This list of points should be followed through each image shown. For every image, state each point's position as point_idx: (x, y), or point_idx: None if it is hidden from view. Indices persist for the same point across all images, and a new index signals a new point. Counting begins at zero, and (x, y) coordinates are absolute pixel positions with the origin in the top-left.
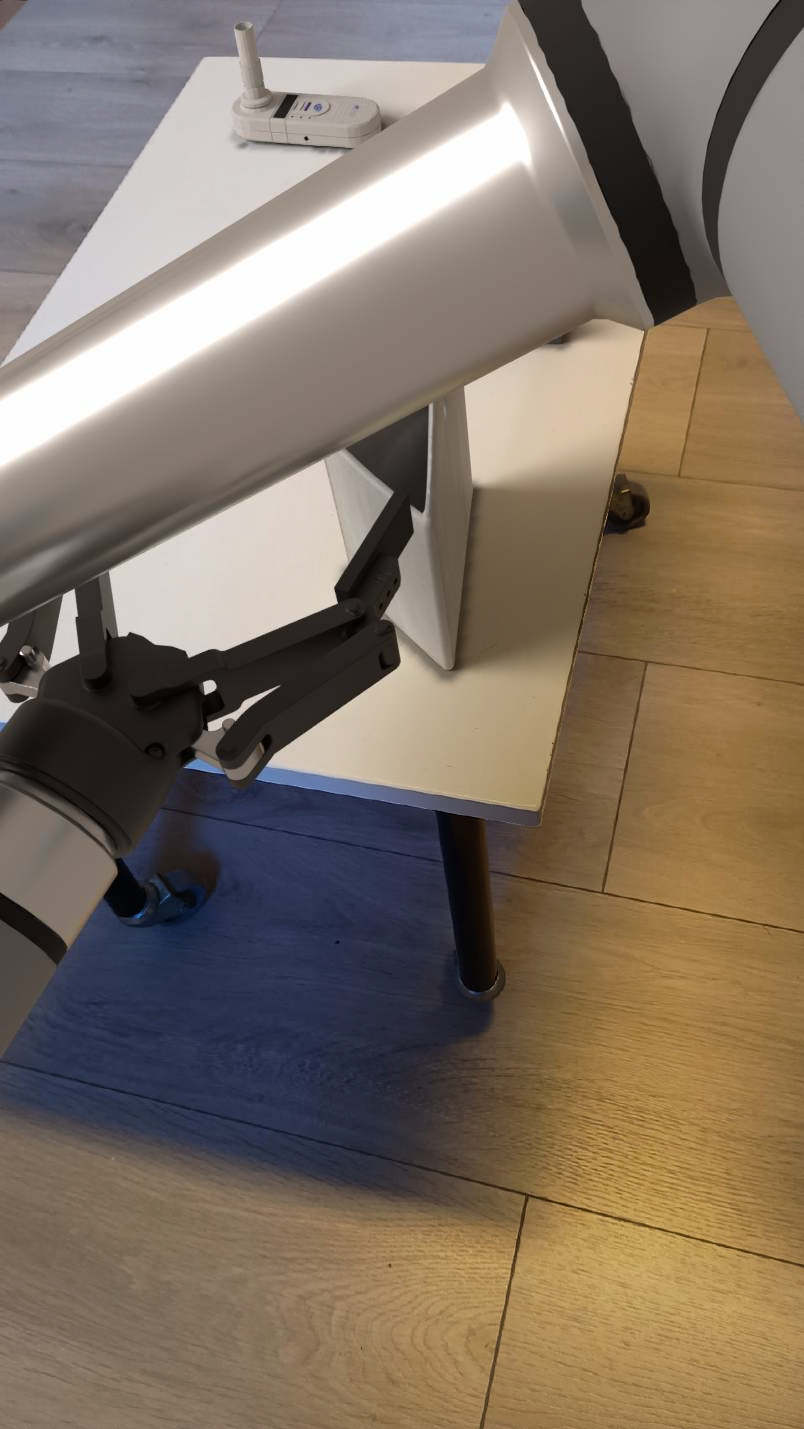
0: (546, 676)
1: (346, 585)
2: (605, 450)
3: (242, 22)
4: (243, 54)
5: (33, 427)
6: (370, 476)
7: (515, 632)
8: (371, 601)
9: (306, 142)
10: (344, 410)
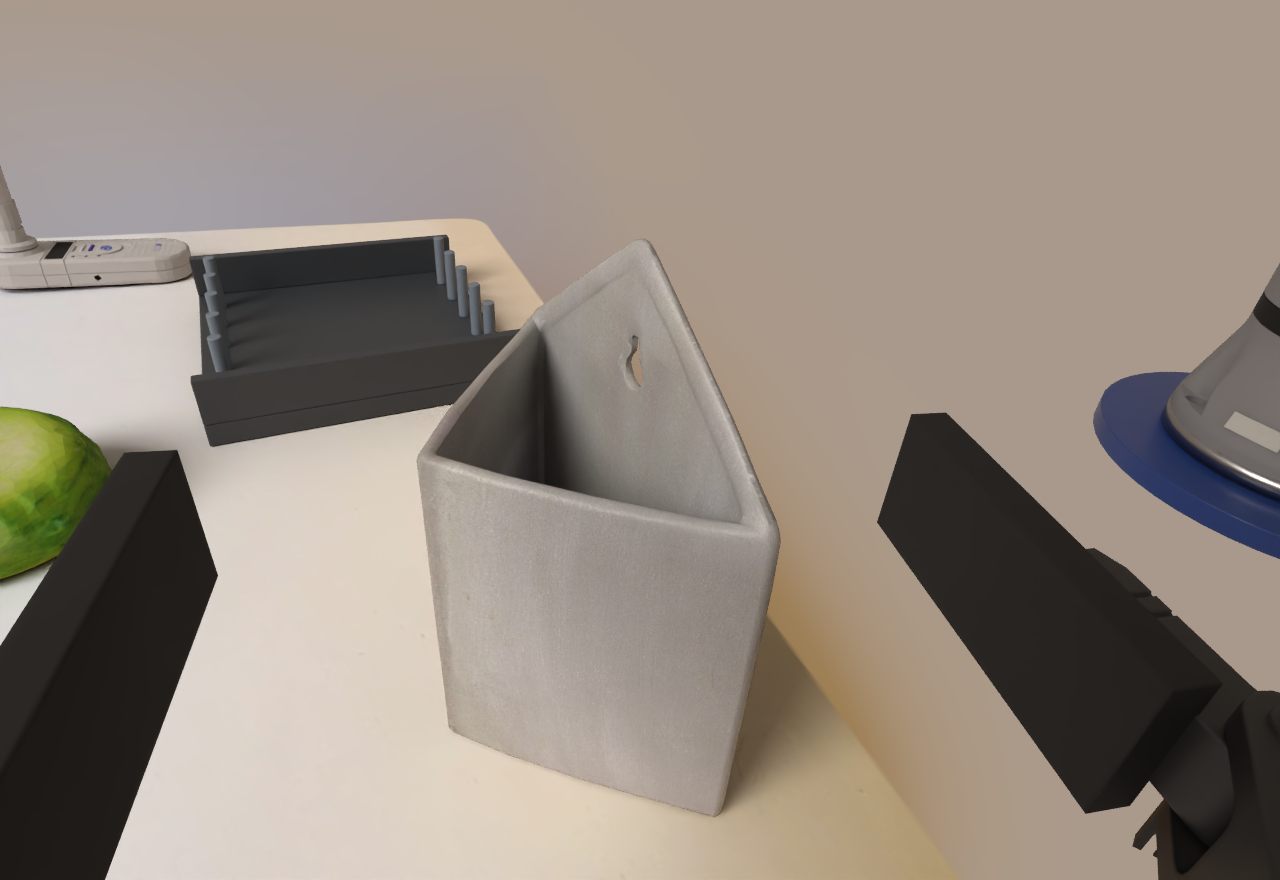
0: (845, 749)
1: (1183, 665)
2: None
3: None
4: None
5: None
6: (592, 500)
7: (752, 706)
8: (1238, 686)
9: (98, 282)
10: None
